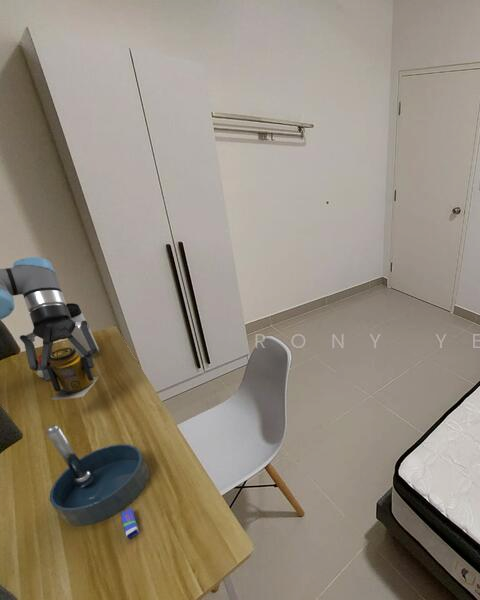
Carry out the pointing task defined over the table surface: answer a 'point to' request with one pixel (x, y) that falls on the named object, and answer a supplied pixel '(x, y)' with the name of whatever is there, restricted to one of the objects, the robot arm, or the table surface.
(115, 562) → the table surface
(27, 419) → the table surface
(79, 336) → the travel mug
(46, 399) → the table surface
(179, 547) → the table surface
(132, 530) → the eraser
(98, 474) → the bowl
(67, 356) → the condiment
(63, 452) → the silver-tipped handle
